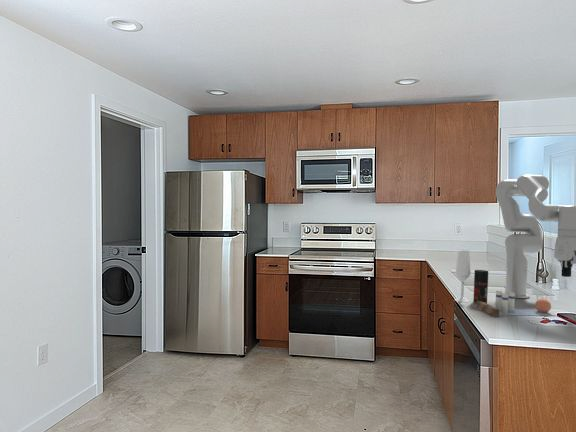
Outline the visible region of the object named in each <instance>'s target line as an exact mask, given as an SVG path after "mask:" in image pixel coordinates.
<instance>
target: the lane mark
mask: <svg viewBox="0 0 576 432" xmlns="http://www.w3.org/2000/svg"><path fill="white" fill-rule="evenodd" d="M499 316H521V317H522V316H523V317H524V316H527V317H528V316H532V317H533V316H535V317H536V316H537V317H538V316H539V317H555V316H556V315H555V314H553V313H550V312H549V311H548V312H546V313H542V312H539V311H538V310H537V309H536V308H514V312H508V314H503V313H501V311H499Z"/></svg>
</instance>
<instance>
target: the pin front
mask: <svg viewBox="0 0 576 432" xmlns="http://www.w3.org/2000/svg"><path fill="white" fill-rule="evenodd" d="M515 299H516V298H515V293H514V292H509V297H508V312H514V309H515V302H516V300H515Z"/></svg>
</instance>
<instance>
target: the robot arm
mask: <svg viewBox="0 0 576 432" xmlns="http://www.w3.org/2000/svg"><path fill="white" fill-rule="evenodd" d="M549 187H550V181H549V180H548V178H547V177H546V176H545V175H543V174H542V175H541V174H522V175H521V176H519V177H517V179H504V180H501V181H499V182H498V183H497V185H496V187H495V188H496V189H495V196H496V197H495V198H496V199H497V203H498V204H499V206H500V210H501V216H502V221H503V224H504V228H505V230H506V231H507V232H509V233H512V234H509V235H508V236H506V238H505V241H504V246H505V253H506V266H505V267H506V268H505V285H504V286H503V288H504V290H505V291H502V293H507V294H508V297H509V292H514V293H515V299H516V298H517V299H528V298H530V293H527V284H528V283H527V281H528V260H527V257H526V255H525V254H535V253H540V252H541V250H543V247H544V246H543V245H544V243H543V237H542V233H541V229H540V224H539V221H541V222H555V223H556V222H557V236H556V239H555V243H554V251H553V252H554V254H553V255H554V256H553V257H554V258H555V259H556V260H557V261H558V262H559V263H560V267H561V277H566V278H567V277H569V278H570V277H572V268H573V265H576V205H569V204H568V205H564V204H544V202H545V201H546V199H547V198H548V196H549V192H548V189H549ZM513 197H526V198H527V199H528V210H529V212H530V214H527V213H522V211H521V210H520V205H519V203H518V202H517V200H515V199H514V198H513Z"/></svg>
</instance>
